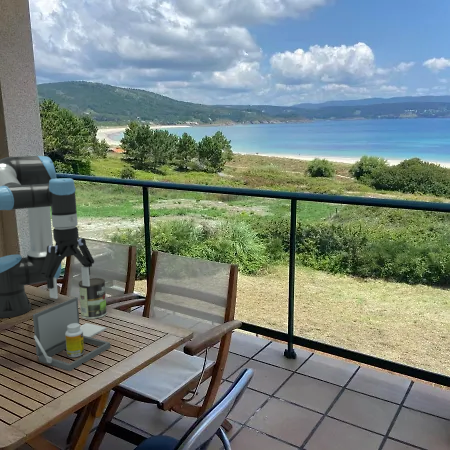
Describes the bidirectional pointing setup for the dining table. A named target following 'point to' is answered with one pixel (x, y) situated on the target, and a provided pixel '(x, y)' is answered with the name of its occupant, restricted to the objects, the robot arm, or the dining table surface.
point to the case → (60, 334)
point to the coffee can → (93, 299)
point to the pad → (91, 329)
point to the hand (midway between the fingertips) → (70, 291)
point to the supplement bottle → (74, 340)
